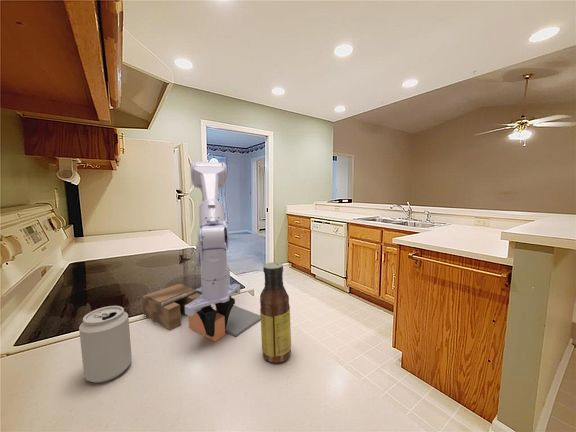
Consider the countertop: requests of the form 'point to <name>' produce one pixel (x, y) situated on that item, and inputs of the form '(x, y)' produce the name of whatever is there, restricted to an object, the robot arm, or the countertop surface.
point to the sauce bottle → (275, 315)
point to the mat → (240, 320)
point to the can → (105, 343)
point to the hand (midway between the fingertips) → (216, 331)
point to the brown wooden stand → (168, 304)
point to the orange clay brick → (198, 326)
